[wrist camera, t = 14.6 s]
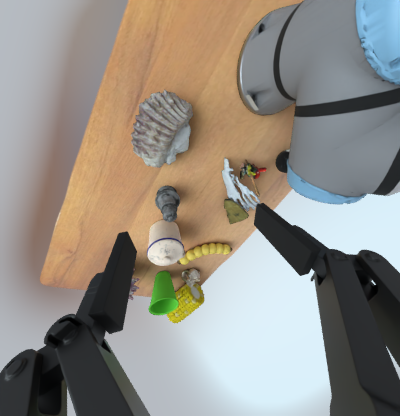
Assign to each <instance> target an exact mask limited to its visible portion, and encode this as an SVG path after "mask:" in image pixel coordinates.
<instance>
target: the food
mask: <svg viewBox="0 0 400 416" xmlns="http://www.w3.org/2000/svg"><path fill="white" fill-rule="evenodd" d="M175 294H176V298H177V300H178V302H179V305H178V307H177V308H176V309H175V310H174V311H172V312H170V313H168V314H167V317H168V318H169V320H170V321H172V322H173V323H178V322H181V320H183V319H184V318H186V317H187V316H188V315H189V314H191V313H192V312H193V311H194V310H195V309H197V308H198V307H199V306H200V305H201V304H202V303H203V302H204V294H203V291H202V290H201V287H200V286H199V284H197V283H195V284H194V285H193V286H192V287H191V288H190V287H189V286H188V285H187V284H186V285H184V286H183V287H181V288H180V289H179V290H178V291H177V292H175Z"/></svg>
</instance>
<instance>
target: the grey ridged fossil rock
mask: <svg viewBox="0 0 400 416" xmlns="http://www.w3.org/2000/svg"><path fill="white" fill-rule="evenodd" d="M139 113H140V115H136V117H135V118H136V121H137V122H136V123H135V124H133V128H134V129H135V130H134V132H132V134H131V136H132V137H133V140H132V141H131V143H132V145H133V146H134V148H133V149H134V150H133V151H134V153H135V154H137V155H138V156H139V157H141V158H142V159H143V160H144V162H145V164H146V165H147V166H153V167H161V166H162V165H163V164H164V163H167V164H168V165H169V164H171V163H172V162H174V161H175V160H176V154H177V153H184V151H187V150H188V146H189V136H190V132H191V129H190V126H189V120H190V118H191V117H192V116H193V112H192V106H191V104H190V103H187V102H186V101H184V100H183V99H180V98H179V97H178V96H176V94H175V93H171V92H167V91H166V90H165V89H164V91H163V93H160V92H157V93H154V94H151V96H150V98H149V99H145V101H144V102H143V103H140V104H139Z"/></svg>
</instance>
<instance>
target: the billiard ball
mask: <svg viewBox="0 0 400 416" xmlns="http://www.w3.org/2000/svg"><path fill="white" fill-rule="evenodd" d="M289 152H290V149H288V150H285V151H283V152H281V153H280V154H279V155H278V157H277V159H276V167H277V169H278V170H279V171H281V172H284V173H287V171H288V166H287V160H288V158H289Z"/></svg>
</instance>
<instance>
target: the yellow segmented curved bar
mask: <svg viewBox="0 0 400 416" xmlns="http://www.w3.org/2000/svg"><path fill="white" fill-rule="evenodd" d="M231 251H232V248H231V247H230V246H229V245H227V244H223V245H222V244H220V243H217V244H214V243H211V244H209V245H207V244H204V245H202V246H201V247H199V246H197V247H195V248H194V250H189V251H187V253H186V254H185V256H184V257H183V258H180V259H179V260H178V261H177V263H178V264H183V265H186V264H188V263H189V261H192V260H195V259H196V257H201V256H202V255H208V254H209V253H210V254H215V253H218V254H221V253H223V254H229V253H230V252H231Z"/></svg>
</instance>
